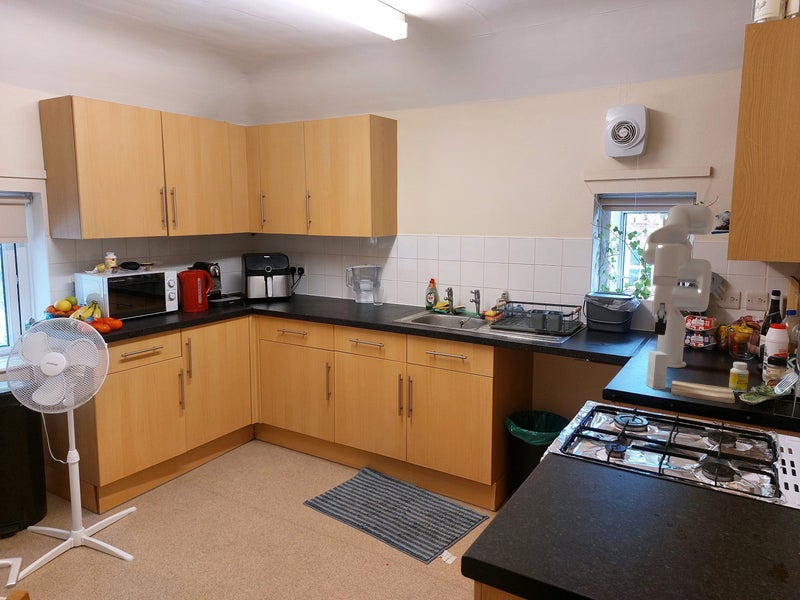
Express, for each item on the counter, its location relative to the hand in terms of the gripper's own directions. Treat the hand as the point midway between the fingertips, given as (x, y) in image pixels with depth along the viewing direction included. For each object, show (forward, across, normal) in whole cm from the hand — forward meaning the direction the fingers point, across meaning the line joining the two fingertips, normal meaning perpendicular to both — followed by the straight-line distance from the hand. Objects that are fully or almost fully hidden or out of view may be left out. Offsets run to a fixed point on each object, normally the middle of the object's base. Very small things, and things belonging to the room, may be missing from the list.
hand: (660, 332), depth 196 cm
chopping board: (+19, -1, +14) cm, 24 cm away
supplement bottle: (+19, -12, +25) cm, 34 cm away
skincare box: (+19, -1, 0) cm, 19 cm away
